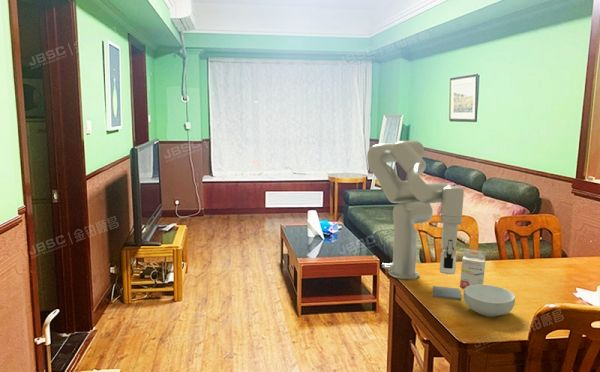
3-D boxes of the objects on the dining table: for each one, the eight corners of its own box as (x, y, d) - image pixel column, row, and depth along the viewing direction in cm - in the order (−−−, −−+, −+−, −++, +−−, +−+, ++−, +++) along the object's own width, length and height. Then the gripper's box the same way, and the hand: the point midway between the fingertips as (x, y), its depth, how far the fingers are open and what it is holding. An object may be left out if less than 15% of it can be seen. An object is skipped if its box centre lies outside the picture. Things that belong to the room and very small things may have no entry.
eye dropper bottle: (451, 275, 174) (454, 244, 173) (437, 272, 178) (439, 241, 176) (456, 273, 178) (459, 242, 176) (442, 269, 181) (445, 239, 180)
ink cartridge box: (459, 287, 186) (462, 251, 184) (461, 283, 191) (463, 248, 189) (482, 290, 183) (485, 254, 181) (483, 286, 187) (486, 251, 185)
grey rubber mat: (432, 297, 176) (432, 295, 175) (432, 287, 185) (432, 285, 185) (460, 300, 173) (461, 298, 173) (459, 290, 182) (459, 288, 182)
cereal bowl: (463, 299, 174) (465, 281, 173) (512, 307, 168) (514, 288, 167) (460, 317, 158) (462, 297, 157) (514, 326, 152) (516, 305, 151)
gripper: (440, 214, 184) (437, 259, 186) (441, 223, 168) (437, 272, 171) (460, 215, 182) (457, 260, 184) (463, 224, 166) (459, 274, 169)
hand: (447, 265), depth 178 cm, fingers closed on eye dropper bottle, 3 cm apart
